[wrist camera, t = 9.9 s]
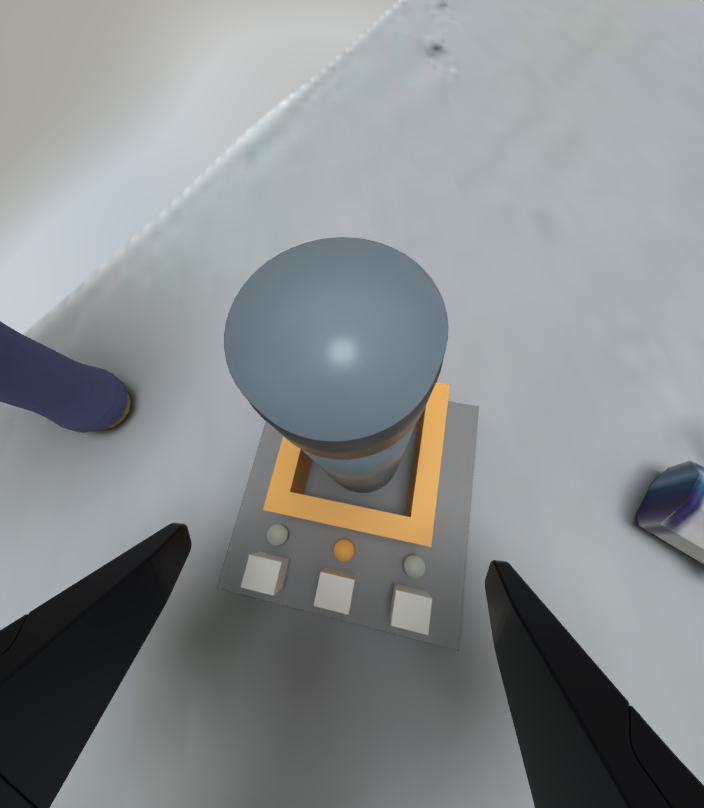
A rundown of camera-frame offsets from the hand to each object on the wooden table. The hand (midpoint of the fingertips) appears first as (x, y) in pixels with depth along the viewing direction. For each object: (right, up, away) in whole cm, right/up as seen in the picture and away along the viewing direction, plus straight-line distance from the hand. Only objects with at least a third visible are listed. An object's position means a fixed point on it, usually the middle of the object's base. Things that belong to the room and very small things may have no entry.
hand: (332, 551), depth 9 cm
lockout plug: (+1, +1, +9) cm, 9 cm away
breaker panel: (+1, -1, +9) cm, 9 cm away
